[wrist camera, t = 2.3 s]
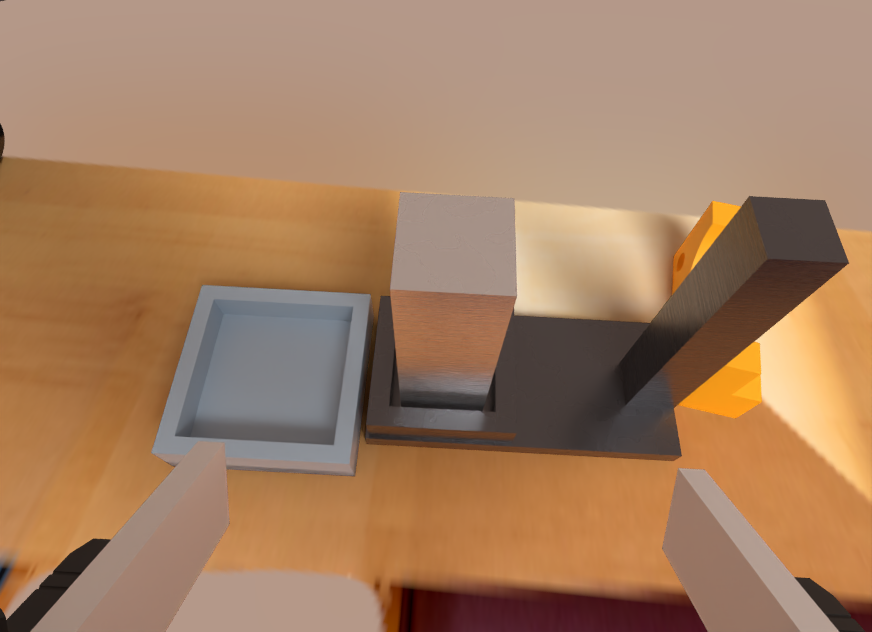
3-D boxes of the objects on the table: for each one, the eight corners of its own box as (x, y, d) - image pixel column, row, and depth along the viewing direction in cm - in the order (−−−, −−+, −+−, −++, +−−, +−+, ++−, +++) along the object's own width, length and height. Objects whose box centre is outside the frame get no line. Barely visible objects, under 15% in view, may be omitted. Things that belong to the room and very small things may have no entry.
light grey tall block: (401, 408, 34) (390, 289, 22) (407, 336, 36) (400, 192, 24) (481, 412, 34) (516, 296, 21) (482, 340, 36) (514, 198, 24)
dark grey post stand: (366, 443, 34) (323, 304, 19) (381, 316, 38) (355, 121, 23) (673, 460, 34) (876, 335, 19) (652, 331, 38) (803, 145, 23)
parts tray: (172, 466, 33) (151, 452, 30) (217, 307, 38) (202, 284, 36) (355, 476, 33) (349, 464, 30) (374, 316, 38) (370, 294, 36)
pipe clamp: (734, 419, 35) (794, 381, 30) (666, 403, 36) (713, 363, 30) (730, 269, 41) (780, 214, 35) (672, 257, 42) (712, 200, 36)
